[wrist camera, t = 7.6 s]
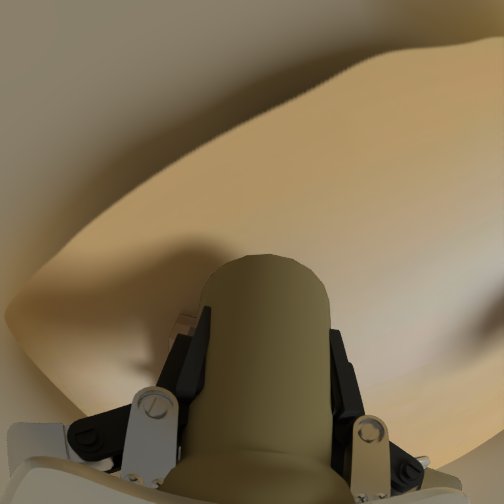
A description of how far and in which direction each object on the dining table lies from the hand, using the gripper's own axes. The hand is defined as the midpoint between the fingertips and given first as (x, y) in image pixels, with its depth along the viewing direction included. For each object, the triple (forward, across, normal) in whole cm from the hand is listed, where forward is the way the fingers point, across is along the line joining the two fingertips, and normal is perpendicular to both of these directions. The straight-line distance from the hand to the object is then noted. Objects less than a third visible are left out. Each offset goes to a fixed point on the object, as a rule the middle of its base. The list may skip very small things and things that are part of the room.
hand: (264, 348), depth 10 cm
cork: (+2, 0, 0) cm, 2 cm away
